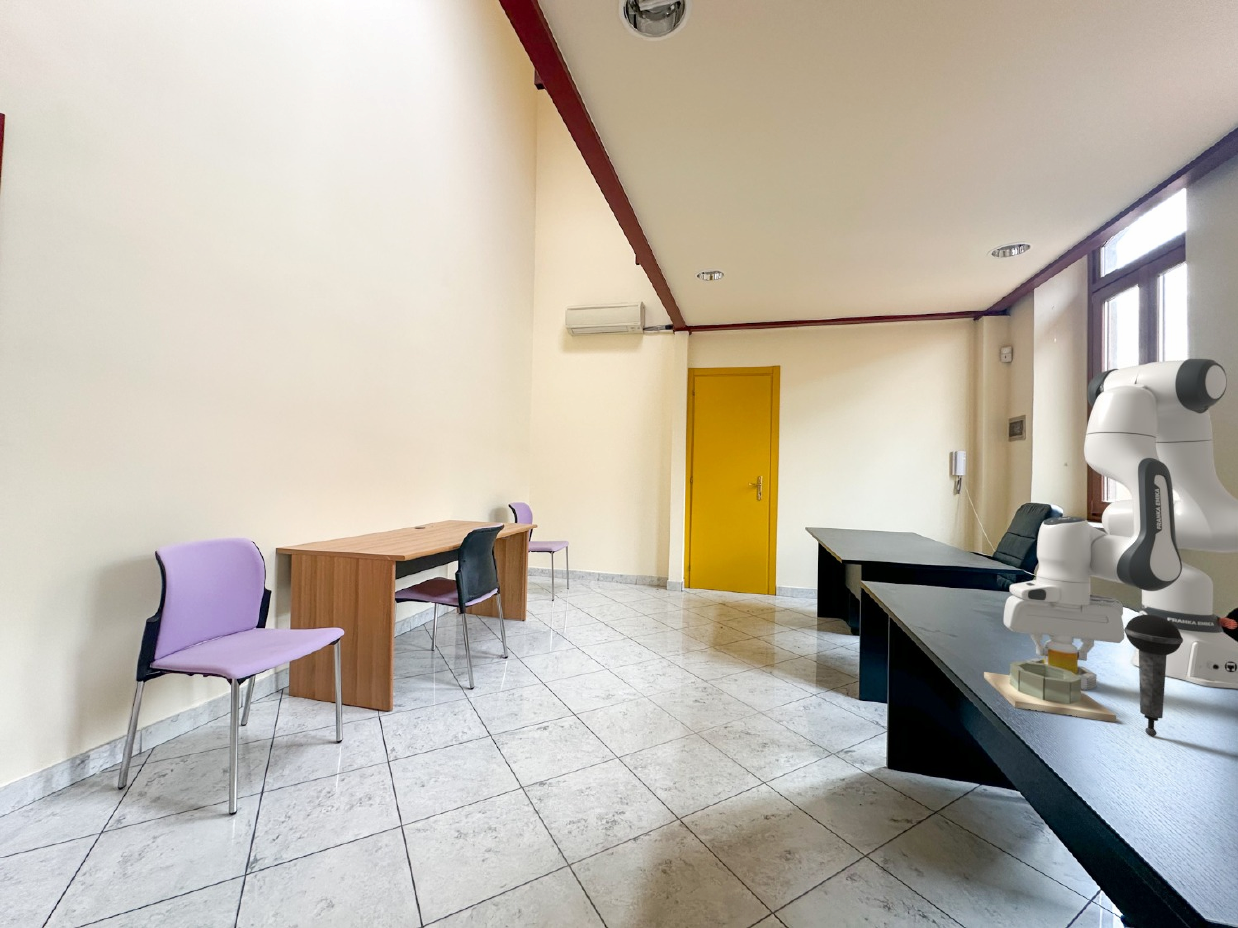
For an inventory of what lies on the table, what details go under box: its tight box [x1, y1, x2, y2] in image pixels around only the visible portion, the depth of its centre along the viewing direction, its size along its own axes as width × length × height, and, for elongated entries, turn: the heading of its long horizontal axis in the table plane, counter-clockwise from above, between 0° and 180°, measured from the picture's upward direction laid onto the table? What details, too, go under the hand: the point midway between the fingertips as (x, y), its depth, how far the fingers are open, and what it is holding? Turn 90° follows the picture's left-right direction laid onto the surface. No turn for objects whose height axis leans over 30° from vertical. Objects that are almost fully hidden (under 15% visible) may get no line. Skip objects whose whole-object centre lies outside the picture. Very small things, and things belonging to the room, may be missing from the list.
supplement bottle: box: [1044, 635, 1079, 675], centre depth 110 cm, size 5×5×10 cm
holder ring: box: [1026, 657, 1097, 691], centre depth 110 cm, size 10×10×2 cm
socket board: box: [983, 660, 1117, 723], centre depth 100 cm, size 15×15×5 cm
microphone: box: [1124, 615, 1183, 737], centre depth 86 cm, size 7×7×20 cm
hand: (1060, 657), depth 110 cm, fingers closed on supplement bottle, 5 cm apart
